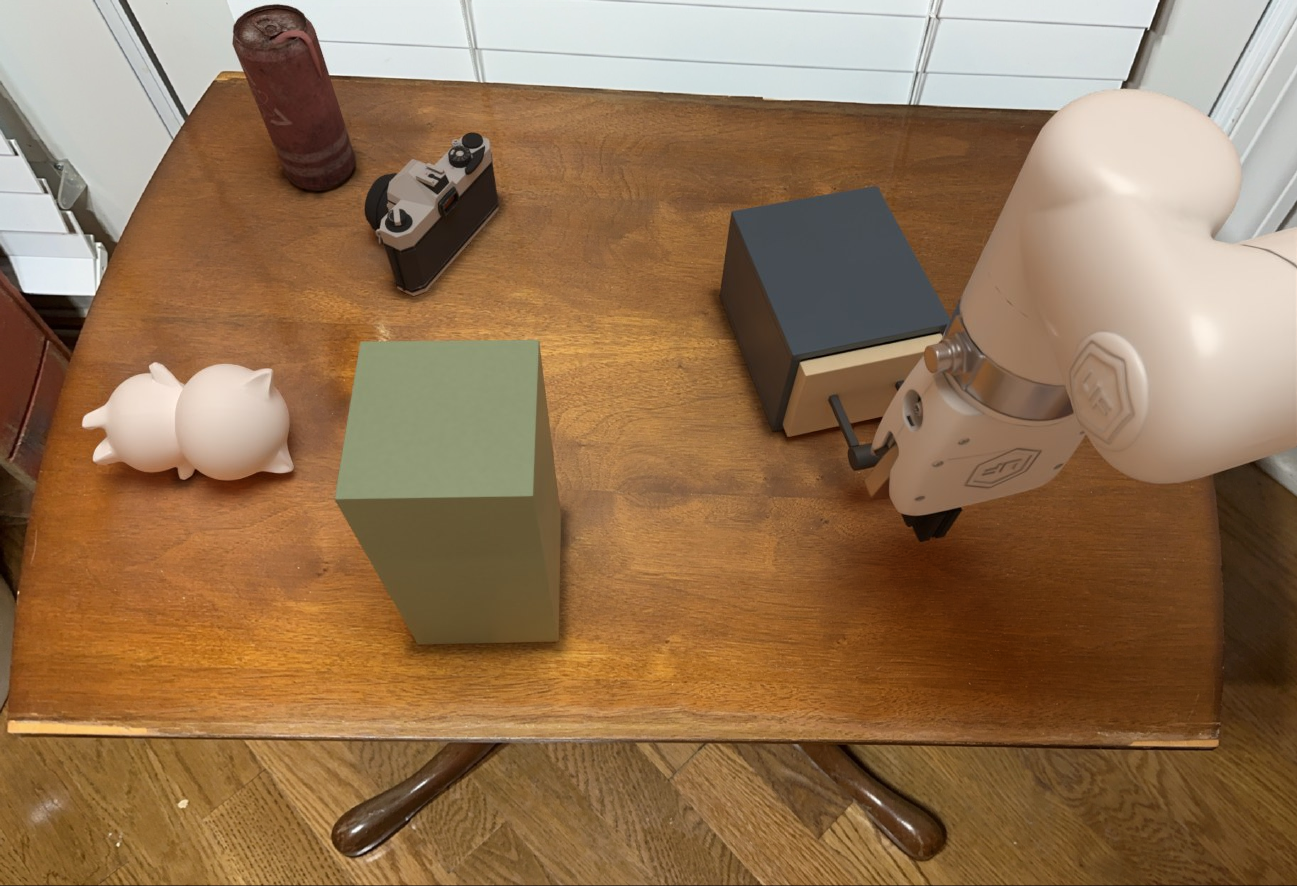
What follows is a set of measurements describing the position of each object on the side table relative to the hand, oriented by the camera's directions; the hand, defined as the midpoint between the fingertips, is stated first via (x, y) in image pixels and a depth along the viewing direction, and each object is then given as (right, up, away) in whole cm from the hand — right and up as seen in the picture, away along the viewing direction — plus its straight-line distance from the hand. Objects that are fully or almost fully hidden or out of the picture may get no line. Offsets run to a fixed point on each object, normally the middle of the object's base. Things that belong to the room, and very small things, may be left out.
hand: (921, 519), depth 59 cm
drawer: (-4, +9, +10) cm, 14 cm away
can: (-46, +29, +22) cm, 59 cm away
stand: (-28, -4, +2) cm, 28 cm away
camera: (-36, +22, +18) cm, 46 cm away
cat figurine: (-48, +5, +7) cm, 49 cm away
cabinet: (-5, +13, +13) cm, 18 cm away
